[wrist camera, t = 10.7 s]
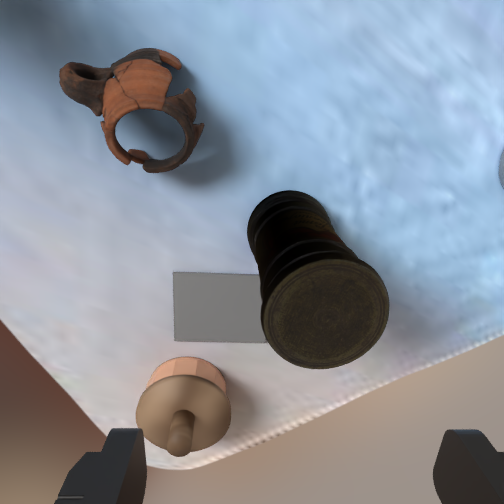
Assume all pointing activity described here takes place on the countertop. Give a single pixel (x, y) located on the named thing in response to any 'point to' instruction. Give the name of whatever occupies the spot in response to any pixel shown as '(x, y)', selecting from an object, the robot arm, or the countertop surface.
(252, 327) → the mat
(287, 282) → the container
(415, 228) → the countertop surface
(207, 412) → the lid
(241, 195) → the countertop surface
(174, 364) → the bowl
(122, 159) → the pottery mug
